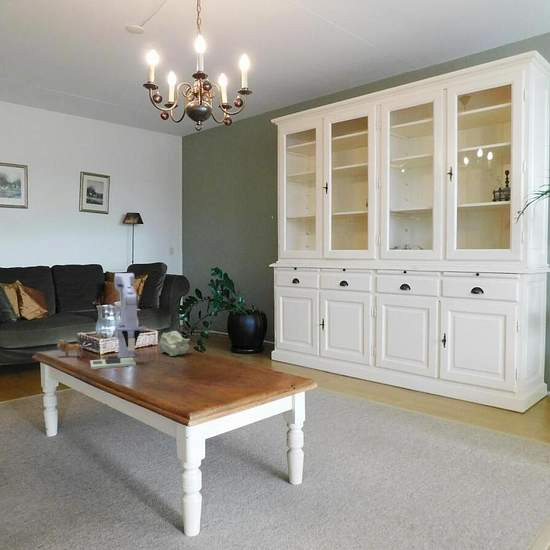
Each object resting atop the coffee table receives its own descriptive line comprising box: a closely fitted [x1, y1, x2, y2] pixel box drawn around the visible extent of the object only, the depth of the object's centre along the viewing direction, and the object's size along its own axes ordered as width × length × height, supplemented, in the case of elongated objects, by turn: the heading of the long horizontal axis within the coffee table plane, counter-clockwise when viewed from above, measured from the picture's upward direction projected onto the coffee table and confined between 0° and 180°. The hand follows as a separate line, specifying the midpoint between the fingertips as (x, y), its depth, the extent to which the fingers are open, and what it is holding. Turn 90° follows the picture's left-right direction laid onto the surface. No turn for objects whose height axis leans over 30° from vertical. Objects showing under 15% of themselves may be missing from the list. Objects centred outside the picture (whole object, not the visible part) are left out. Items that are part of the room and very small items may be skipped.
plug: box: [127, 337, 136, 352], centre depth 239 cm, size 5×3×6 cm, turn 24°
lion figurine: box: [56, 339, 87, 358], centre depth 254 cm, size 15×5×9 cm, turn 95°
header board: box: [89, 355, 137, 370], centre depth 237 cm, size 15×20×3 cm
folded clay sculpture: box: [158, 330, 191, 357], centre depth 262 cm, size 18×13×16 cm
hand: (130, 346), depth 239 cm, fingers closed on plug, 3 cm apart
